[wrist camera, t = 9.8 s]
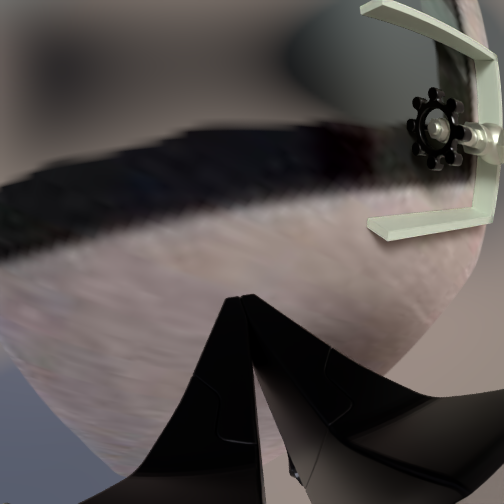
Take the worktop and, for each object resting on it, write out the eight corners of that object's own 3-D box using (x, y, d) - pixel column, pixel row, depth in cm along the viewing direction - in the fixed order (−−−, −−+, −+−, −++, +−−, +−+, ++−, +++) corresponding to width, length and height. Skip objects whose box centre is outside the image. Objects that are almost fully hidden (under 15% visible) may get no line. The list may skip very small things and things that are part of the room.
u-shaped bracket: (474, 213, 25) (492, 222, 22) (366, 227, 22) (387, 241, 20) (476, 55, 16) (496, 55, 14) (359, 7, 14) (380, -4, 11)
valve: (478, 112, 20) (405, 87, 18) (526, 121, 14) (464, 87, 12) (476, 169, 22) (404, 162, 20) (521, 186, 17) (461, 180, 15)
